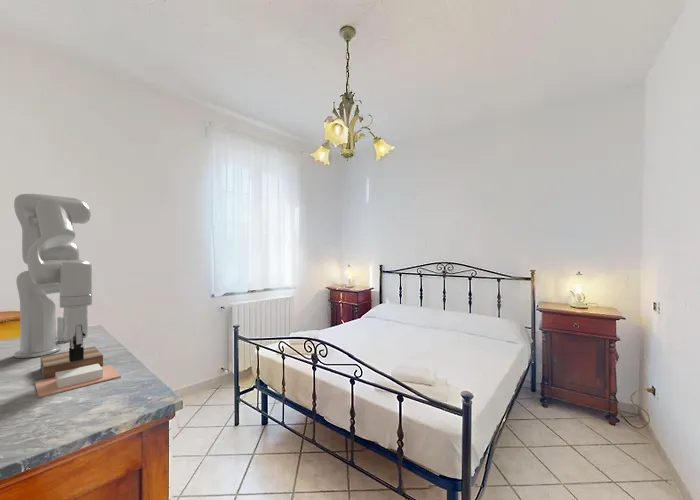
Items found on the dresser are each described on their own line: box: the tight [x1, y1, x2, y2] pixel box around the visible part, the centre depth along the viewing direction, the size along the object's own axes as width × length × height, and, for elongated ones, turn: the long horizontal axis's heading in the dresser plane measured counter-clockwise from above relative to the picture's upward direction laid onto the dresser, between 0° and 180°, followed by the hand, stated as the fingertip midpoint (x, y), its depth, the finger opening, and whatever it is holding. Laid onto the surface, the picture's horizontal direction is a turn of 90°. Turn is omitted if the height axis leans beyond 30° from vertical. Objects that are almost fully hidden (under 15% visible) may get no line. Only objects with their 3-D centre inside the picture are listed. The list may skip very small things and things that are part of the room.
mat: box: [34, 364, 122, 399], centre depth 94 cm, size 14×18×1 cm
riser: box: [40, 346, 104, 380], centre depth 104 cm, size 14×14×4 cm
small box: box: [56, 315, 70, 343], centre depth 137 cm, size 8×6×10 cm
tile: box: [55, 364, 103, 388], centre depth 94 cm, size 7×10×2 cm
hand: (76, 360), depth 97 cm, fingers closed
